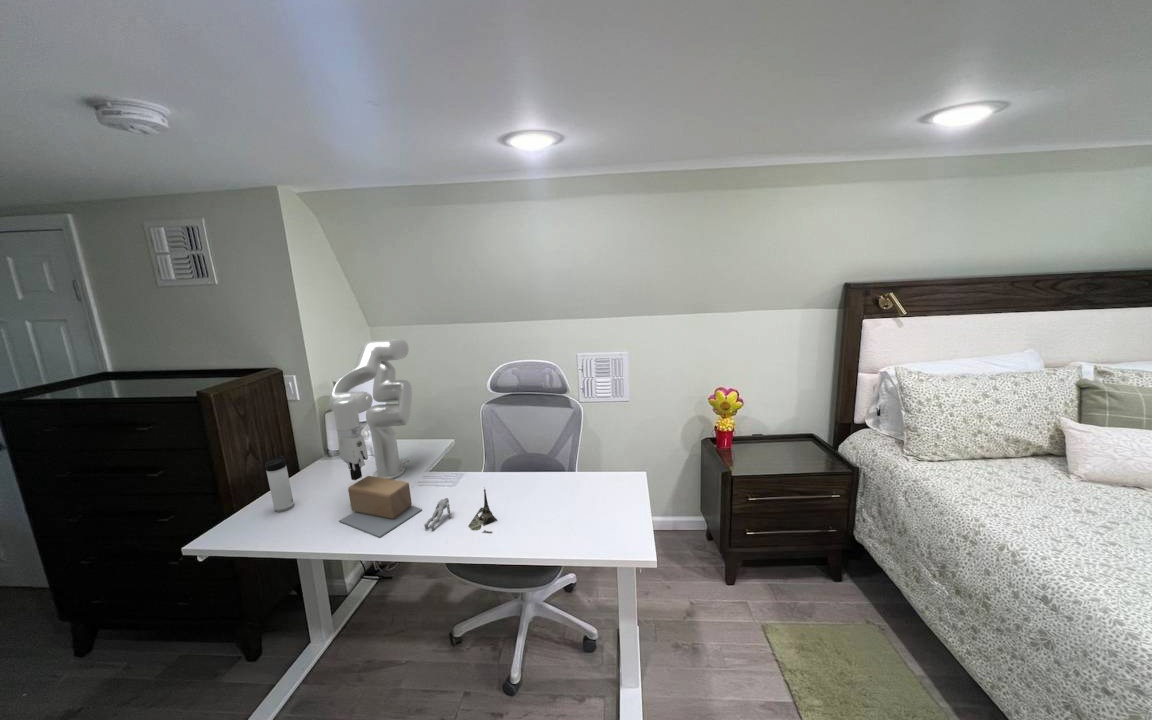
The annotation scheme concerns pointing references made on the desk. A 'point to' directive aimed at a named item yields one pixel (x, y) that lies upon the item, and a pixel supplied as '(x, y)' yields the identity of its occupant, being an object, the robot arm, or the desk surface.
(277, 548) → the desk surface
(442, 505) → the grey humanoid figure
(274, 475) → the travel mug
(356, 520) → the mat
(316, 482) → the desk surface
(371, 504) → the block
